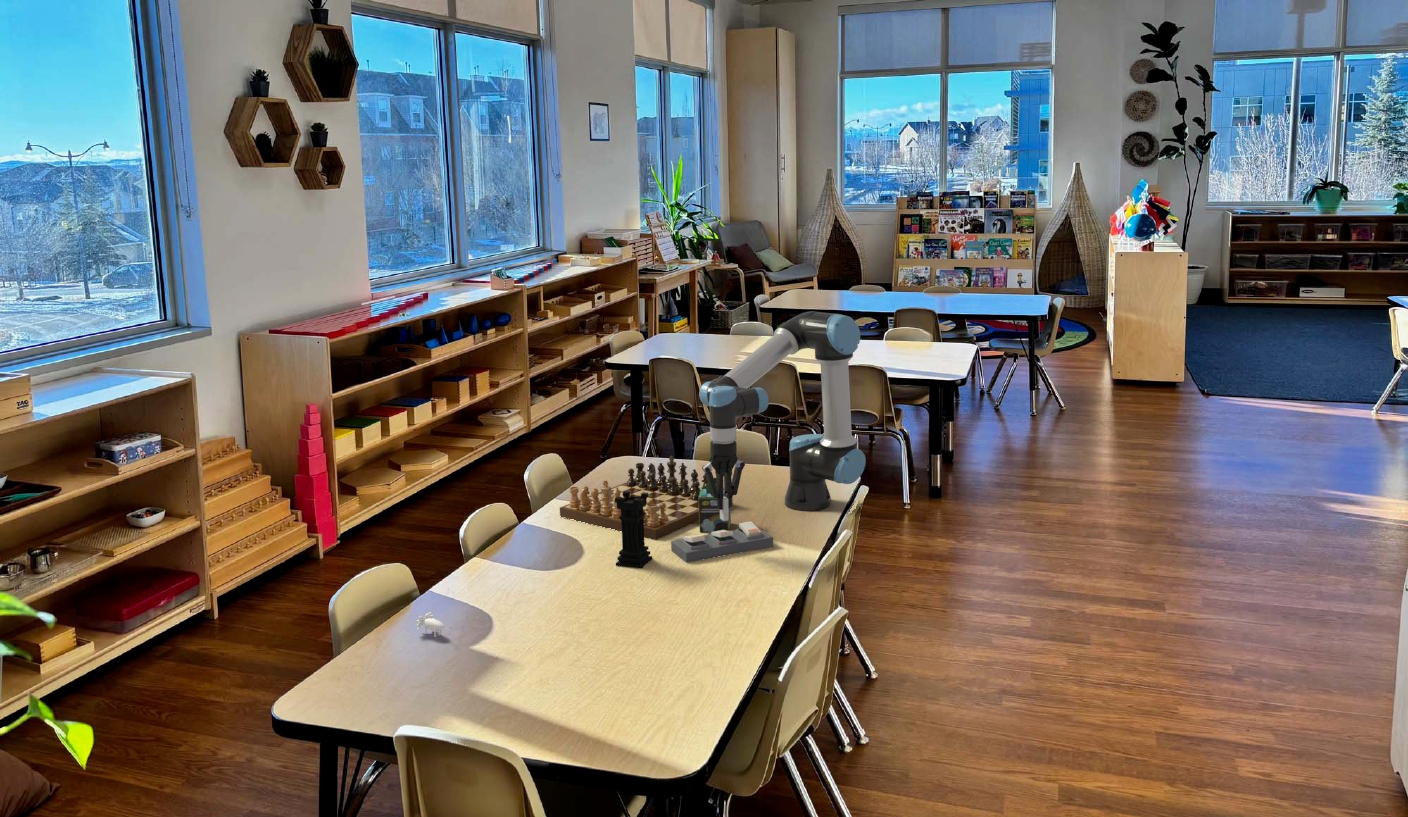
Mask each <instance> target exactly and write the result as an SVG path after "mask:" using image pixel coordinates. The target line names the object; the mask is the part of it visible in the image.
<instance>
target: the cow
mask: <svg viewBox="0 0 1408 817" xmlns="http://www.w3.org/2000/svg"><path fill="white" fill-rule="evenodd" d="M432 613H433V612H432V610H430V611H429V612H427V613H426V614H425V615H419V616H416V617H417V620H415V622H417V624H415V626H417V628H416V630H419V629H420V628H421V626H424V629H425V630H424V631H425V635H426V634H427V635H428V629H429V630H431V631H432V632H433V635H434V637H436V638H437V631H439V635H440V634H442V635H443V633H442V631H443V630H446V629H452V626H449V627H445V624H444V623H443V622H442V621H441V620H439V619H435V618H434V617H433V616H434V614H432ZM432 632H431V633H432ZM434 637H433V638H434Z"/></svg>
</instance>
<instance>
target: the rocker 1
mask: <svg viewBox="0 0 1408 817" xmlns="http://www.w3.org/2000/svg"><path fill="white" fill-rule="evenodd" d="M703 536H704V535H699V534H693V535H686V536H683V538H682V539H684V541H688V542H698V541H703V540H705V537H703Z"/></svg>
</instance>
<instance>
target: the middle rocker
mask: <svg viewBox="0 0 1408 817" xmlns="http://www.w3.org/2000/svg"><path fill="white" fill-rule="evenodd" d="M731 531H732V530H729V531H726V530H720V531H714V532H710V534H712V536H717V537H726V536H731V535H733V532H731Z"/></svg>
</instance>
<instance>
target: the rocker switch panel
mask: <svg viewBox="0 0 1408 817" xmlns="http://www.w3.org/2000/svg"><path fill="white" fill-rule="evenodd" d="M755 526H756V525H755ZM756 527H757V528H758V529H759V530H760V531H761V534H759V535H754V536H747V535H746V534H745V533H744V531H743V530H742V529H741V528H740V527H739V528H736V529H733V530H730V531H731V532H733V535H731V536H726V537H717V536H712V534H711V533H708V534H704V535H702V536H703V537H705V540H703V541H698V542H688V541H684V539H683V538H680V539H677V540H671V541H670V549H671V552H672V554H673V553H674V555H676V557H679V558H680V559H681V560H682V561H683V562H685V563H686V564H687V563H693V562H699V561H704V560H710V559H714V558H713V557H715V558H719V557H718V556H721V557H724V556H723V555H726V556H730V555H729V554H731V555H735V554H734V553H737V554H741V553H740V552H742V553H747V552H752V550H753V551H757V550H758V551H759V550H763V549H767V548H769V549H770V548H773V547H774V536H772V535H771V534H769V533H768V532H766V531H764V530H763V529H761V528H760V527H758V526H756ZM709 558H710V559H709ZM703 559H704V560H703Z"/></svg>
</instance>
